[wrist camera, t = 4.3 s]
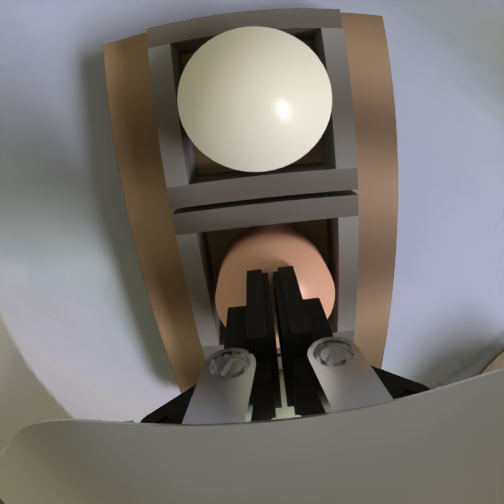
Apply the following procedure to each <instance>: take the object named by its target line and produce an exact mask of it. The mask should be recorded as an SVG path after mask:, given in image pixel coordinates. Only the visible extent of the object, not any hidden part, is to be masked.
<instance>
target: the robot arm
mask: <svg viewBox="0 0 504 504" xmlns="http://www.w3.org/2000/svg"><path fill="white" fill-rule="evenodd" d="M273 282H274V293H275V304H276V315H277V326H278V337H279V345H280V353H281V360H282V368H283V376H284V384H285V392H286V400H287V407H292V406H294V412H295V416H296V415H300V416H301V417H293V418H284V419H275V420H271V419H273V418H276V409H275V408H282V401H281V390H280V378H279V367H278V356H277V345H276V335H275V326H274V318H273V310H272V302H271V294H270V286H269V278H268V272H267V273H262V269H258V270H248V271H247V282H246V306H237V307H229V308H228V312H227V322H226V332H225V342H224V349H222V350H219V351H217V352H215V353H213V354H212V355H211V356H210V357H208V358H207V360H206V362H205V363H204V366H203V369H202V371H201V374H200V377H199V379H198V382H197V384H195V385H194V386H192V387H191V388H189V389H188V390H186V391H185V392H183V393H182V394H180V395H179V396H177V397H176V398H174V399H173V400H171V401H169V402H168V403H166V404H165V405H163V406H162V407H160V408H158V409H157V410H155V411H154V412H152V413H150V414H149V415H147V416H146V417H145V418H143V419H142V420H141V422H140V423H135V422H134V421H133V420H132V421H124V422H119V421H102V420H88V419H57V420H48V421H44V422H38V423H34V424H31V425H28V426H26V427H23V428H22V429H20V430H19V431H17V432H16V433H15V434H14V435H13V436H12V437H11V439H10V440H9V441H8V442H7V444H6V445H5V447H4V448H3V450H2V452H1V453H0V504H504V368H503V369H499V370H495V371H491V372H487V373H484V374H481V375H477V376H474V377H471V378H468V379H465V380H461V381H458V382H455V383H451V384H448V385H443V386H436V388H435V389H432V390H431V389H429V388H428V387H426V386H424V385H422V384H420V383H417V382H414V381H411V380H409V379H406V378H403V377H400V376H398V375H395V374H392V373H390V372H387V371H384V370H382V369H379V368H376V367H374V366H371V365H370V364H369V363H368V361H367V360H366V358H365V357H364V355H363V354H362V352H361V351H360V349H359V348H358V347H357V345H356V344H355V343H354V342H352V341H350V340H348V339H346V338H342V337H334V336H333V333H332V331H331V328H330V325H329V322H328V320H327V317H326V314H325V312H324V309H323V306H322V303H321V301H320V299H319V298H310V299H303V298H302V294H301V291H300V288H299V284H298V281H297V277H296V274H295V271H294V267H293V266H285V267H278V271H276V272H273Z"/></svg>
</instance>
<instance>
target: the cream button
mask: <svg viewBox="0 0 504 504" xmlns="http://www.w3.org/2000/svg"><path fill="white" fill-rule="evenodd" d="M177 102H178V111H179V116H180V119H181V122H182V125H183V127H184V129H185V131H186V133H187V135H188V137H189V138H190V139H191V141H192V142H193V143H194V145H195V146H196V147H197V148H198V149H199V150H200V151H201V152H202V153H204V154H205V155H206V156H207V157H209V158H210V159H212V160H213V161H215V162H217V163H219V164H221V165H223V166H226V167H229V168H232V169H235V170H240V171H247V172H264V171H270V170H275V169H278V168H282V167H284V166H287V165H289V164H291V163H293V162H295V161H297V160H298V159H300V158H301V157H303V156H304V155H305V154H307V153H308V152H309V151H310V150H311V149H312V148H313V147H314V146H315V145H316V143H317V142H318V141H319V139H320V138H321V136H322V135H323V133H324V131H325V129H326V127H327V124H328V122H329V119H330V114H331V109H332V90H331V84H330V80H329V77H328V74H327V72H326V70H325V68H324V66H323V64H322V63H321V61H320V60H319V58H318V57H317V55H316V54H315V53H314V52H313V51H312V50H311V49H310V48H309V47H308V46H307V45H306V44H304V43H303V42H302V41H300V40H299V39H297V38H296V37H294V36H292V35H290V34H288V33H286V32H283V31H280V30H277V29H273V28H268V27H259V26H251V27H241V28H236V29H232V30H229V31H226V32H224V33H221V34H219V35H217V36H215V37H214V38H212V39H210V40H209V41H207V42H206V43H205V44H204V45H202V46H201V47H200V48H199V49H198V50H197V51H196V52H195V53H194V54H193V56H192V57H191V59H190V60H189V61H188V63H187V65H186V67H185V69H184V70H183V73H182V76H181V78H180V82H179V87H178V96H177Z"/></svg>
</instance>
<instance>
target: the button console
mask: <svg viewBox="0 0 504 504" xmlns="http://www.w3.org/2000/svg"><path fill="white" fill-rule="evenodd" d="M251 26H259V27H268V28H273V29H277V30H280V31H283V32H286V33H288V34H290V35H292V36H294V37H296V38H297V39H299V40H300V41H302V42H303V43H304V44H306V45H307V46H308V47H309V48H310V49H311V50H312V51H313V52H314V53H315V54H316V55H317V57H318V58H319V60H320V61H321V63H322V64H323V66H324V68H325V70H326V72H327V74H328V77H329V80H330V84H331V90H332V109H331V114H330V119H329V122H328V124H327V127H326V129H325V131H324V133H323V135H322V136H321V138H320V139H319V141H318V142H317V143H316V145H315V146H314V147H313V148H312V149H311V150H310V151H309V152H308V153H307V154H305V155H304V156H303V157H301V158H300V159H298V160H297V161H295V162H293V163H291V164H289V165H287V166H284V167H282V168H278V169H275V170H270V171H264V172H247V171H240V170H235V169H232V168H229V167H226V166H223V165H221V164H219V163H217V162H215V161H213V160H212V159H210V158H209V157H207V156H206V155H205V154H204V153H202V152H201V151H200V150H199V149H198V148H197V147H196V146H195V145H194V143H193V142H192V141H191V139H190V138H189V137H188V135H187V133H186V131H185V129H184V127H183V125H182V122H181V119H180V116H179V111H178V102H177V96H178V87H179V82H180V78H181V76H182V73H183V70H184V69H185V67H186V65H187V63H188V61H189V60H190V59H191V57H192V56H193V54H194V53H195V52H196V51H197V50H198V49H199V48H200V47H201V46H202V45H204V44H205V43H206V42H207V41H209V40H210V39H212V38H214V37H215V36H217V35H219V34H221V33H224V32H226V31H229V30H232V29H236V28H241V27H251ZM146 32H147V33H144V34H140V35H136V36H133V37H129V38H126V39H122V40H119V41H116V42H113V43H110V44H107V45H104V46H103V52H104V65H105V76H106V86H107V96H108V104H109V112H110V119H111V127H112V133H113V140H114V146H115V152H116V158H117V164H118V170H119V175H120V180H121V185H122V190H123V195H124V200H125V205H126V210H127V214H128V219H129V223H130V227H131V232H132V236H133V240H134V244H135V248H136V252H137V256H138V260H139V264H140V267H141V271H142V275H143V279H144V282H145V286H146V289H147V293H148V296H149V300H150V303H151V306H152V310H153V313H154V316H155V319H156V322H157V326H158V329H159V332H160V335H161V338H162V341H163V344H164V347H165V350H166V353H167V356H168V359H169V361H170V364H171V367H172V370H173V373H174V375H175V378H176V381H177V383H178V386H179V389H180V391H181V394H182V393H183V392H185V391H186V390H188V389H189V388H191V387H192V386H194V385H195V384H197V382H198V379H199V377H200V374H201V371H202V369H203V366H204V363H205V362H206V360H207V358H208V357H210V356H211V355H212V354H213V353H215V352H217V351H219V350H222V349H224V342H225V332H226V327H225V326H224V324H223V323H222V321H221V320H220V317H219V315H218V312H217V309H216V302H215V295H216V289H217V283H218V278H219V272H220V267H221V262H222V258H223V255H224V253H225V251H226V249H227V247H228V246H229V244H230V243H231V242H232V241H233V240H234V239H235V238H236V237H237V236H238V235H239V234H241V233H242V232H244V231H245V230H247V229H249V228H252V227H254V226H260V225H270V224H284V225H289V226H291V227H294V228H296V229H298V230H300V231H302V232H303V233H305V234H306V235H307V236H308V237H309V238H310V239H311V240H312V241H313V242H314V244H315V245H316V247H317V249H318V251H319V252H320V254H321V256H322V258H323V260H324V262H325V264H326V266H327V268H328V270H329V272H330V274H331V277H332V279H333V283H334V287H335V301H334V305H333V309H332V311H331V314H330V316H329V317H328V319H327V320H328V322H329V325H330V328H331V331H332V333H333V336H334V337H342V338H346V339H348V340H350V341H352V342H354V343H355V344H356V345H357V347H358V348H359V349H360V351H361V352H362V354H363V355H364V357H365V358H366V360H367V361H368V363H369V364H370V365H371V366H374V367H376V368H379V369H381V366H382V360H383V355H384V349H385V343H386V336H387V330H388V323H389V315H390V307H391V299H392V289H393V279H394V268H395V255H396V239H397V214H398V157H397V133H396V118H395V105H394V94H393V84H392V76H391V68H390V60H389V53H388V47H387V40H386V35H385V29H384V23H383V18H382V16H377V15H367V14H355V13H340V9H275V10H260V11H248V12H238V13H230V14H222V15H215V16H208V17H202V18H196V19H191V20H186V21H181V22H176V23H171V24H167V25H162V26H158V27H154V28H150V29H146ZM277 356H278V367H279V369H283V368H282V360H281V353H280V348H277Z"/></svg>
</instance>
